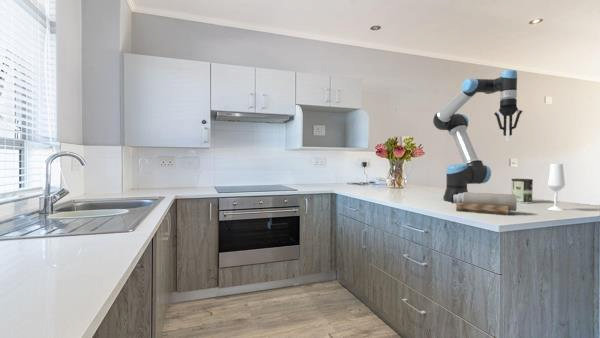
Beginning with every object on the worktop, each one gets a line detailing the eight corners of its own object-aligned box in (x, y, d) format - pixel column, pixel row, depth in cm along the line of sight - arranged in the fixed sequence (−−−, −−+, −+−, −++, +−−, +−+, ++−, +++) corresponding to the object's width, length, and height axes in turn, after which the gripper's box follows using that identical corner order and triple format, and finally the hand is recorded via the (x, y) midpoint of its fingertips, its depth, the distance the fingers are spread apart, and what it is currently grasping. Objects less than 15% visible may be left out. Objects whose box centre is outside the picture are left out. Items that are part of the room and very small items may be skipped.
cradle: (506, 209, 151) (506, 202, 151) (508, 215, 136) (508, 207, 136) (459, 206, 163) (459, 199, 163) (456, 211, 148) (456, 203, 148)
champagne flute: (560, 208, 151) (561, 163, 150) (567, 211, 145) (568, 163, 144) (544, 208, 153) (545, 163, 152) (550, 210, 147) (551, 164, 146)
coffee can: (531, 201, 176) (531, 178, 175) (533, 203, 167) (534, 180, 166) (510, 200, 181) (510, 178, 180) (511, 202, 172) (512, 179, 172)
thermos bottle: (515, 207, 143) (452, 202, 159) (515, 192, 141) (452, 189, 157) (516, 213, 137) (450, 208, 152) (516, 198, 135) (450, 194, 151)
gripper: (494, 99, 159) (493, 141, 160) (523, 96, 152) (522, 140, 153) (494, 101, 165) (493, 142, 166) (522, 98, 158) (521, 141, 159)
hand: (507, 141), depth 159 cm, fingers closed
